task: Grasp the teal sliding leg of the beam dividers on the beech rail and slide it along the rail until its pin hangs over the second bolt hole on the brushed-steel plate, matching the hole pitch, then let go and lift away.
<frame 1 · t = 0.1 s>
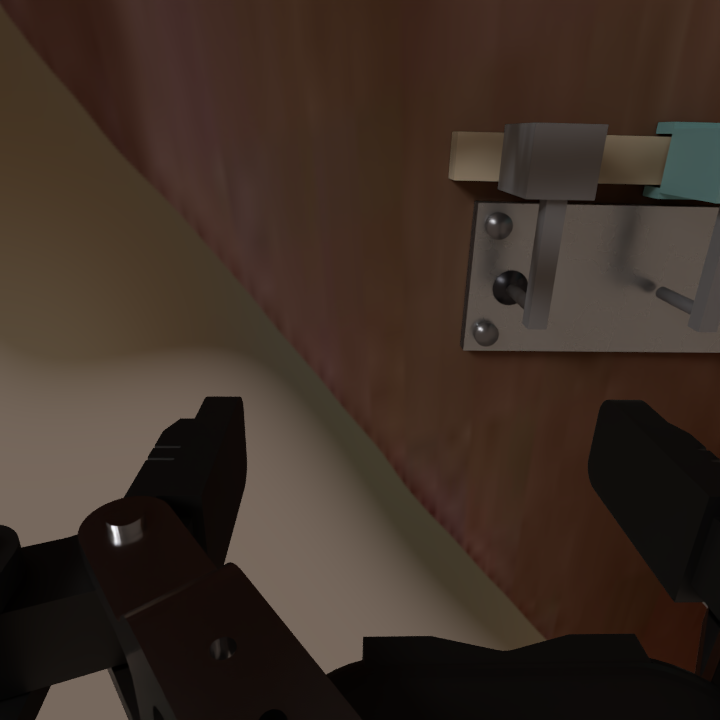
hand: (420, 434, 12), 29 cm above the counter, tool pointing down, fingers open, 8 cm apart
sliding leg: (698, 224, 36), point 4 cm above the counter, slide at 2.0 cm
rail: (648, 159, 38), on the counter
bolt plate: (636, 278, 41), on the counter
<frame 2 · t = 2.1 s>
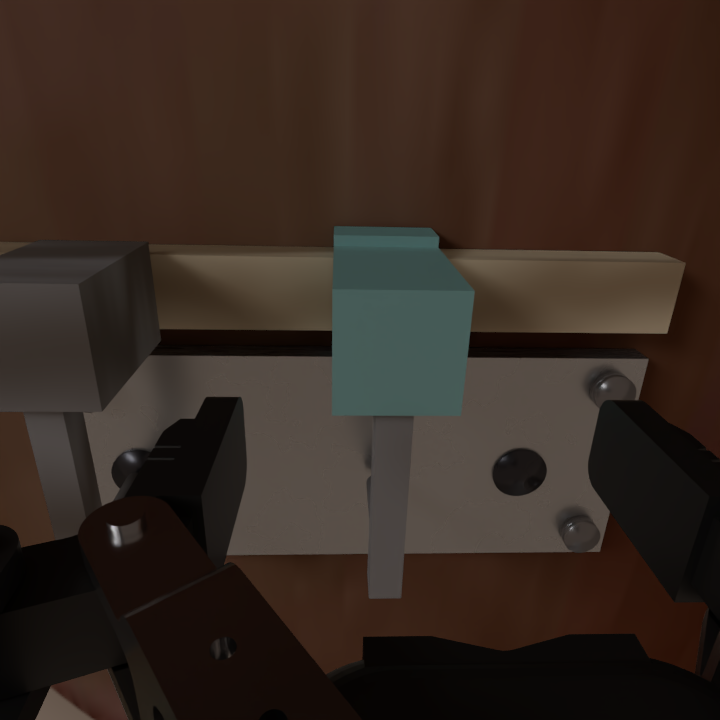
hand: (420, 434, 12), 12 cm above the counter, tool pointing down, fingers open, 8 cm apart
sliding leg: (384, 406, 21), point 4 cm above the counter, slide at 2.0 cm
rail: (333, 281, 23), on the counter
bolt plate: (353, 449, 27), on the counter
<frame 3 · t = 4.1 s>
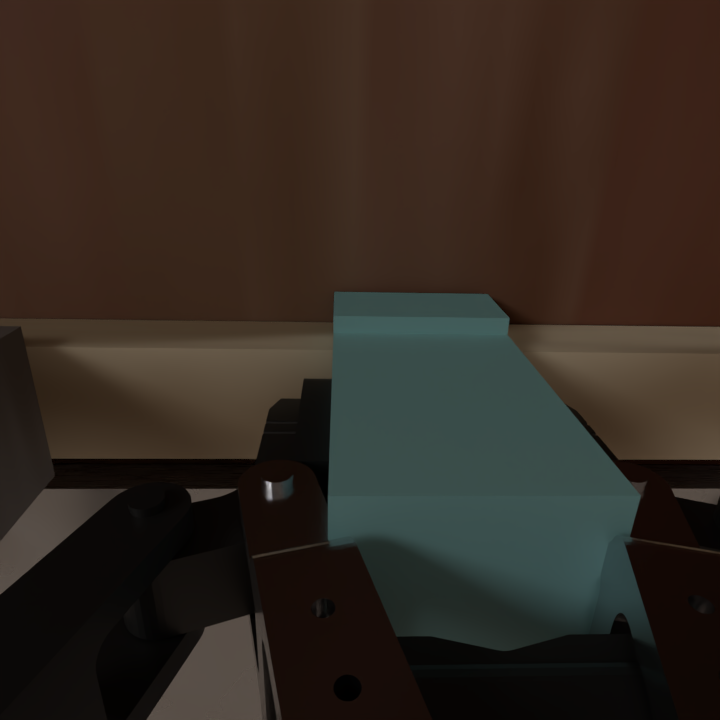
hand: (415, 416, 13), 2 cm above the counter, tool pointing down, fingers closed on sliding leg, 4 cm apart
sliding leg: (416, 593, 13), point 4 cm above the counter, slide at 2.0 cm, touching gripper
rail: (332, 373, 15), on the counter
bolt plate: (360, 601, 18), on the counter
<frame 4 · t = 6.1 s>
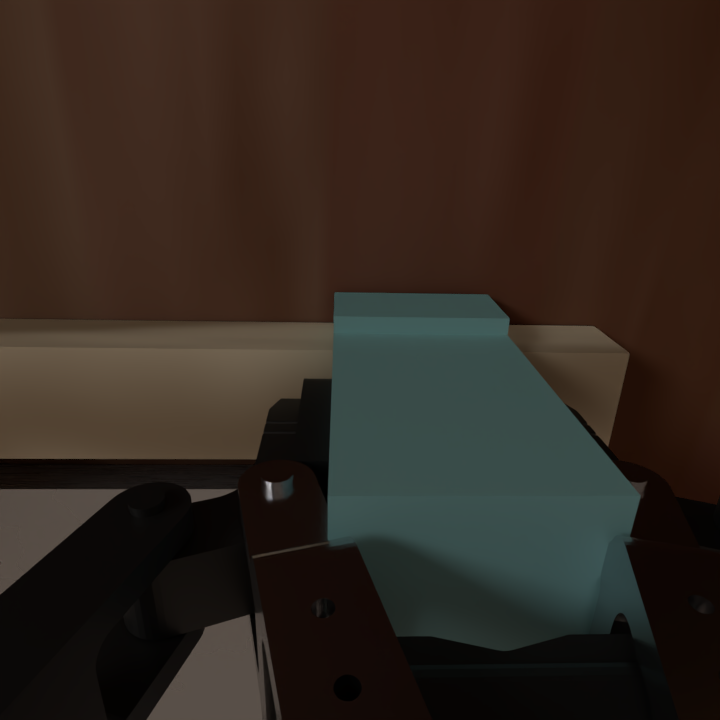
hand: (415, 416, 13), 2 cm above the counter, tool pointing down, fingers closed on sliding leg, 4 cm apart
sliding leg: (416, 594, 13), point 4 cm above the counter, slide at 8.9 cm, touching gripper
rail: (81, 371, 15), on the counter
bolt plate: (156, 603, 18), on the counter
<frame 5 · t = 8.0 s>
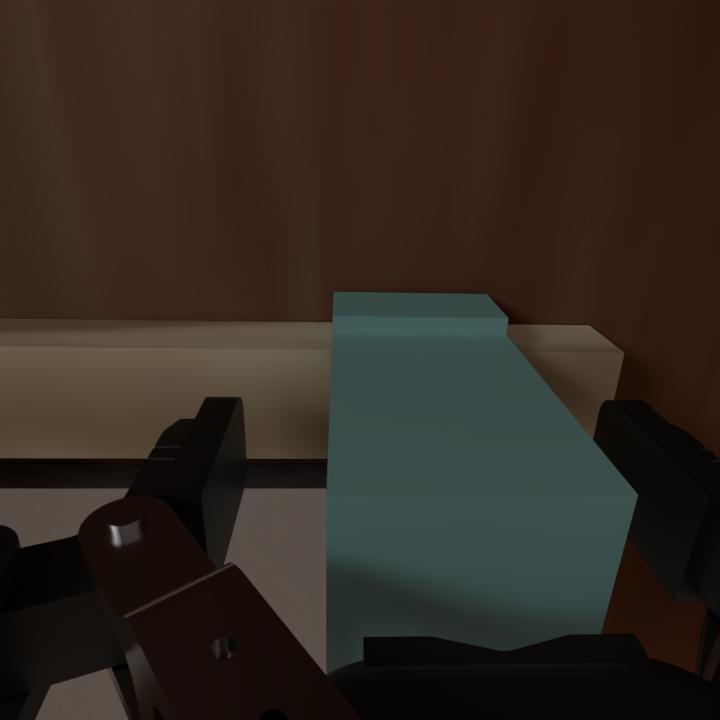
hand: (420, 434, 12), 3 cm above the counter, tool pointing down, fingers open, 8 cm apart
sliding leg: (415, 593, 13), point 4 cm above the counter, slide at 9.0 cm
rail: (77, 371, 15), on the counter
bolt plate: (152, 603, 18), on the counter
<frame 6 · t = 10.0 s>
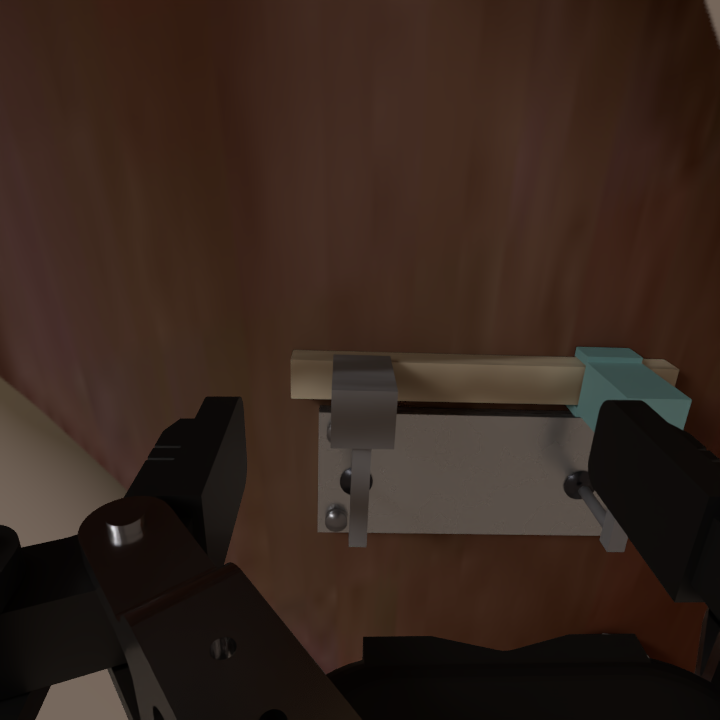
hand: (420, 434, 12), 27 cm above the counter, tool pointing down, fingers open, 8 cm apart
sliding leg: (610, 447, 39), point 4 cm above the counter, slide at 9.0 cm
rail: (478, 373, 41), on the counter
bolt plate: (478, 469, 44), on the counter
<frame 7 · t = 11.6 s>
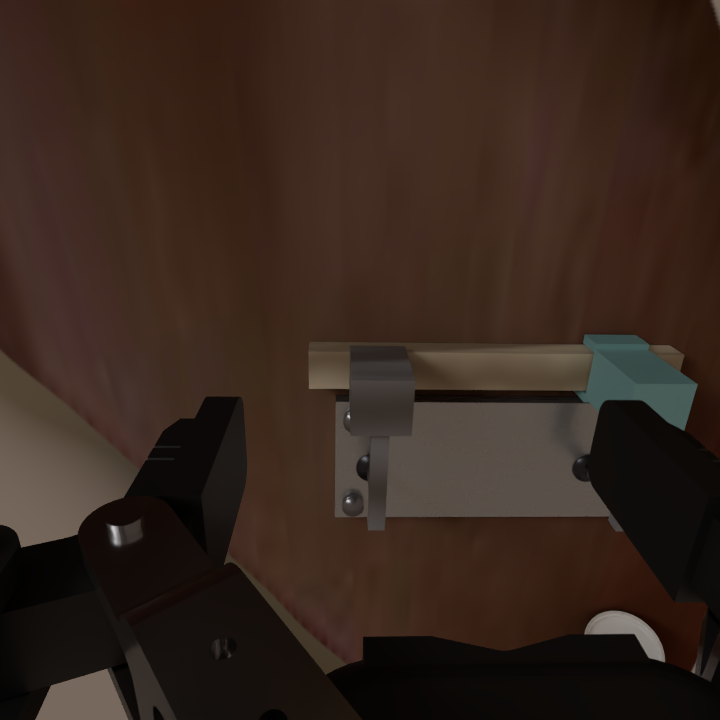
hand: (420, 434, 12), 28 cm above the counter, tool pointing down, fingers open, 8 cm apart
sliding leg: (618, 431, 40), point 4 cm above the counter, slide at 9.0 cm
spread jar: (597, 649, 56), on the counter
rail: (489, 361, 42), on the counter
bolt plate: (489, 454, 46), on the counter
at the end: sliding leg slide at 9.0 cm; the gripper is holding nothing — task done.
